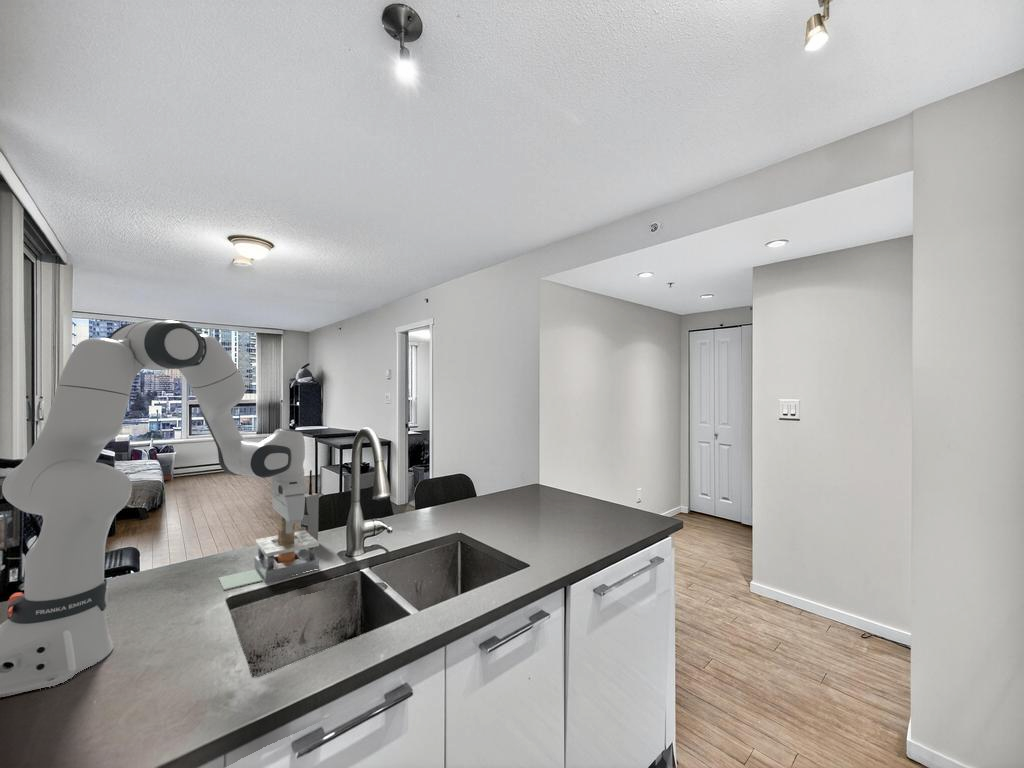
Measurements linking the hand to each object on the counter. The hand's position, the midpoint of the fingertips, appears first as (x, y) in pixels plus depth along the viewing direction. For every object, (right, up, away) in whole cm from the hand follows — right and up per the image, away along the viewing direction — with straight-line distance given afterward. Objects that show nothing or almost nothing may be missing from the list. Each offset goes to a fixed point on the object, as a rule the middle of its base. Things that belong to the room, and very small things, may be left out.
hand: (286, 530), depth 133 cm
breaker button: (0, -10, 0) cm, 10 cm away
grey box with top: (0, -11, 0) cm, 11 cm away
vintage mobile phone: (-3, -11, +20) cm, 24 cm away
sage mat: (-9, -11, -8) cm, 16 cm away
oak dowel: (0, -4, 0) cm, 4 cm away
